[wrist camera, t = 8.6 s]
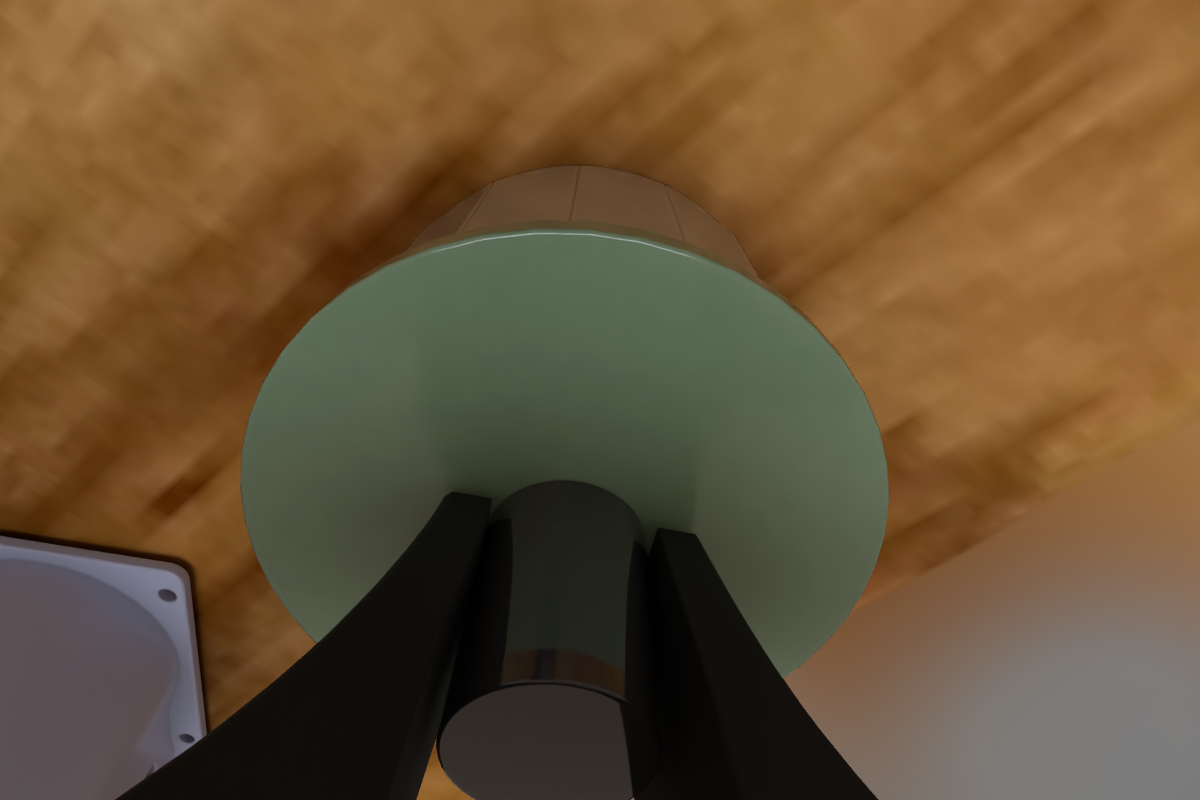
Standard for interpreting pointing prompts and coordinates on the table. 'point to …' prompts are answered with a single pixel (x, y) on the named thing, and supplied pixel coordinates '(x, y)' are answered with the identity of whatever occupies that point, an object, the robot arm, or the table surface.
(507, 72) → the table surface
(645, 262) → the lid
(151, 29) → the table surface
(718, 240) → the canister
